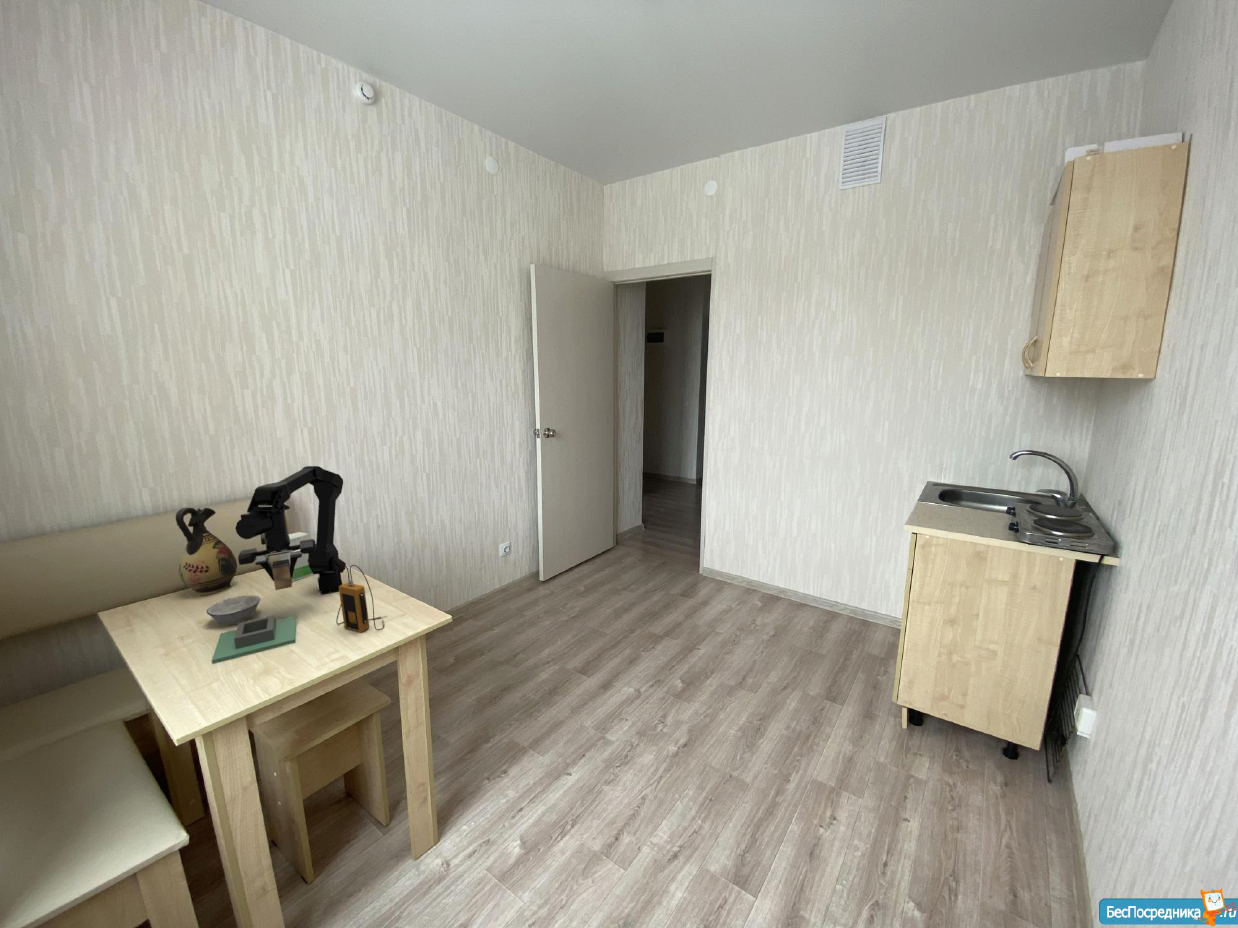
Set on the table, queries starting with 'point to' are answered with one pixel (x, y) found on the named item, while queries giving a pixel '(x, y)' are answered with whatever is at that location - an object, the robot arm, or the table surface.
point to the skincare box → (301, 564)
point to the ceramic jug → (204, 555)
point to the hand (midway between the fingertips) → (282, 579)
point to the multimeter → (355, 605)
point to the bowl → (234, 609)
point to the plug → (281, 574)
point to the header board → (255, 637)
